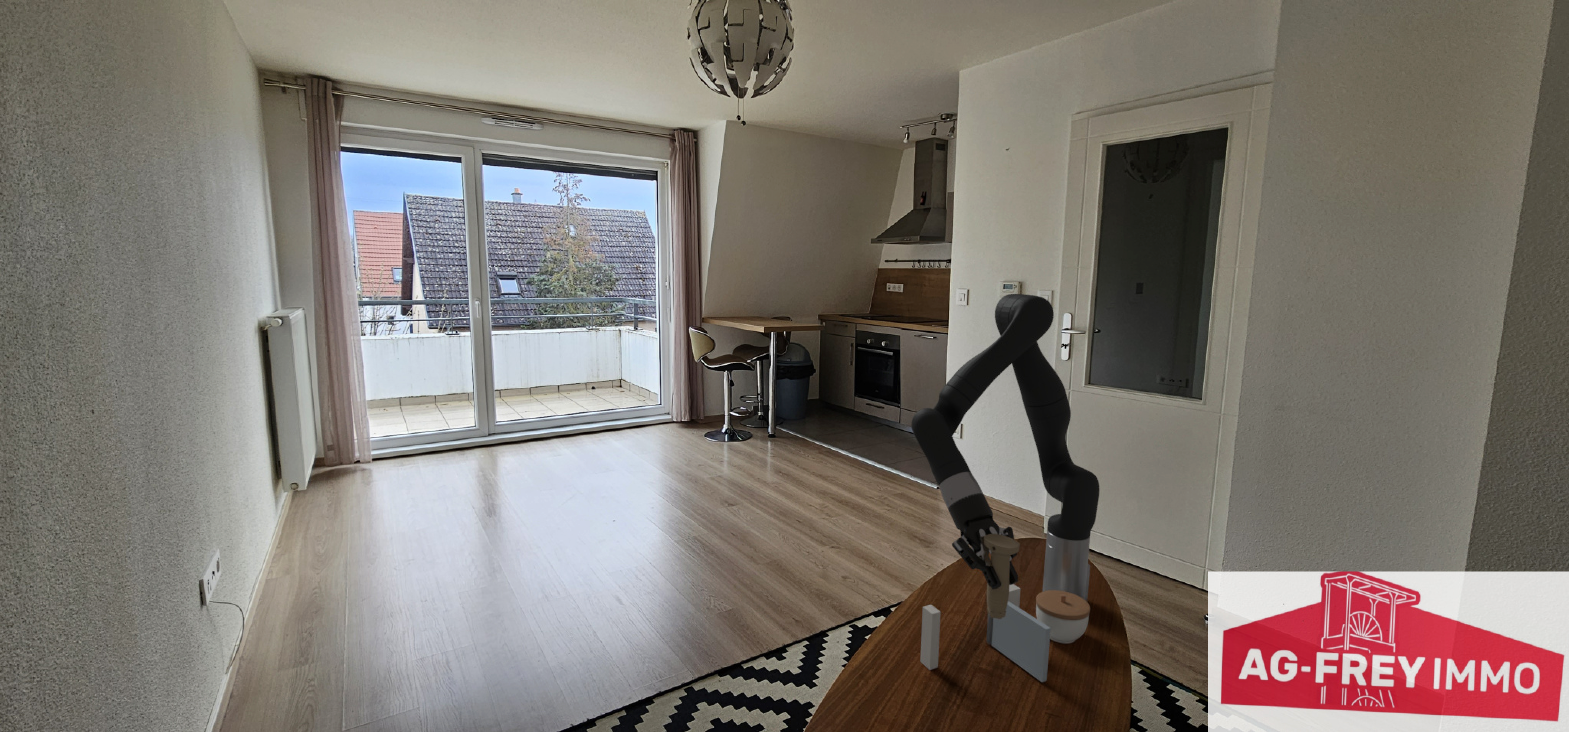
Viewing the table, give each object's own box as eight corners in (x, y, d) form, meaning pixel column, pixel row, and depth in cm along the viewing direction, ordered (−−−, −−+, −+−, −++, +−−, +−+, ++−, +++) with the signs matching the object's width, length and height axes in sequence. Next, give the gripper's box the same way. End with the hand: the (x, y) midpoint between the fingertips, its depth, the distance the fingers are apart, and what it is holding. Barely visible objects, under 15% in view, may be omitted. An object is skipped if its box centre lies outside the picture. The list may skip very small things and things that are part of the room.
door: (984, 641, 142) (987, 592, 141) (990, 639, 143) (993, 590, 141) (1041, 682, 129) (1045, 629, 127) (1047, 680, 130) (1051, 627, 128)
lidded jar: (1082, 655, 138) (1086, 613, 137) (1028, 639, 144) (1031, 598, 142) (1091, 631, 147) (1094, 591, 146) (1039, 616, 153) (1042, 578, 151)
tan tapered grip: (1003, 627, 124) (1009, 550, 121) (974, 612, 128) (979, 538, 126) (1018, 618, 127) (1024, 543, 124) (988, 604, 131) (994, 531, 129)
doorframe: (1006, 633, 146) (1009, 582, 144) (1016, 640, 143) (1020, 588, 141) (920, 661, 136) (922, 606, 134) (929, 669, 133) (932, 613, 131)
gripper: (946, 497, 127) (987, 586, 119) (1002, 486, 134) (1046, 570, 125) (927, 514, 133) (965, 600, 124) (982, 503, 139) (1022, 584, 131)
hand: (1005, 584), depth 125 cm, fingers closed on tan tapered grip, 3 cm apart
